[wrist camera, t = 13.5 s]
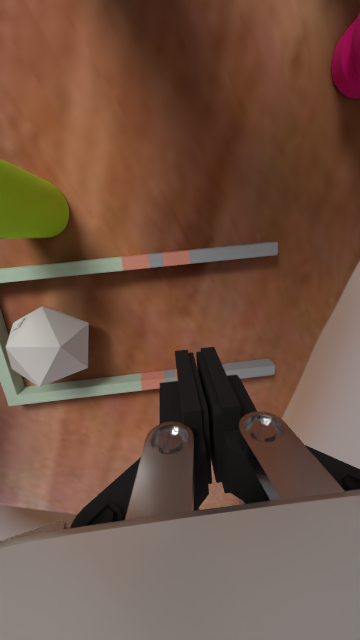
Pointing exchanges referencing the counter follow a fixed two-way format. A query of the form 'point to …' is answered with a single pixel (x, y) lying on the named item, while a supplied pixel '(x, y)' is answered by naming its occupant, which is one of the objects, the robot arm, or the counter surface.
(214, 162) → the counter surface
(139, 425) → the counter surface
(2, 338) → the track
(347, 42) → the pepper mill
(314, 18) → the counter surface
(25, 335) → the die
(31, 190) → the soap dispenser
